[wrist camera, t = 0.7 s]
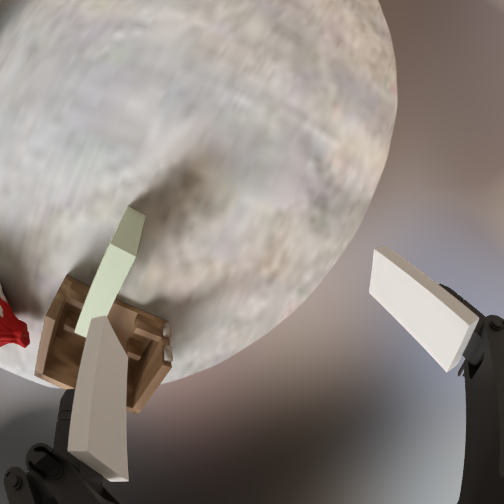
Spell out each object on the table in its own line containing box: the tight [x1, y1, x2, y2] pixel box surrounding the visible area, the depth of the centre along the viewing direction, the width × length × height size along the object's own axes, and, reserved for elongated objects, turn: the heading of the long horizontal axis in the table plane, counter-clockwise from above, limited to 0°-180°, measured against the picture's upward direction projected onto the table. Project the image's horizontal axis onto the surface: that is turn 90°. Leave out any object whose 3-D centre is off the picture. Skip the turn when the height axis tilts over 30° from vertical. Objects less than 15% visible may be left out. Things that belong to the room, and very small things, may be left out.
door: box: [74, 206, 146, 338], centre depth 28 cm, size 11×2×11 cm, turn 143°
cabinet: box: [34, 275, 173, 414], centre depth 33 cm, size 16×13×9 cm
